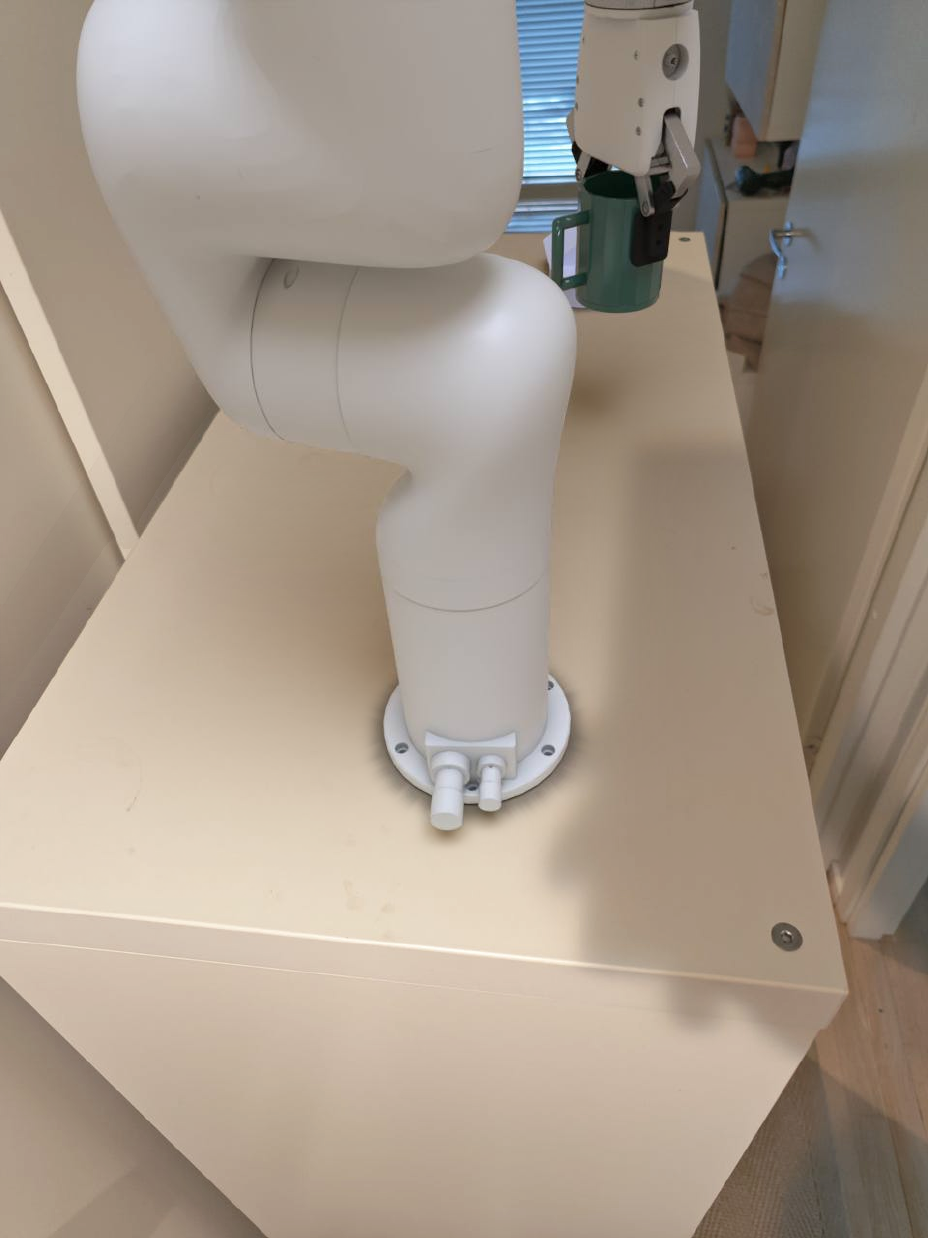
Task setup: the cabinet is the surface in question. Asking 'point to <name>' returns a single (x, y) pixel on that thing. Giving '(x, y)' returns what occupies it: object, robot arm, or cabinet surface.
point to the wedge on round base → (566, 260)
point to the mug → (606, 247)
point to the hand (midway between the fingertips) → (620, 244)
